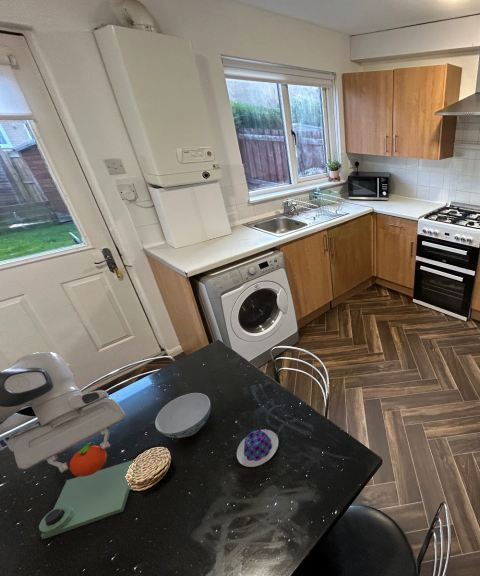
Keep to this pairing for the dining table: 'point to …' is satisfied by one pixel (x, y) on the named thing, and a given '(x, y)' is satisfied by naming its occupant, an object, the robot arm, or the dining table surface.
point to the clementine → (88, 460)
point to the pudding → (257, 448)
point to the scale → (90, 499)
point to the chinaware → (183, 415)
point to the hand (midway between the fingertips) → (87, 458)
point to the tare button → (54, 516)
